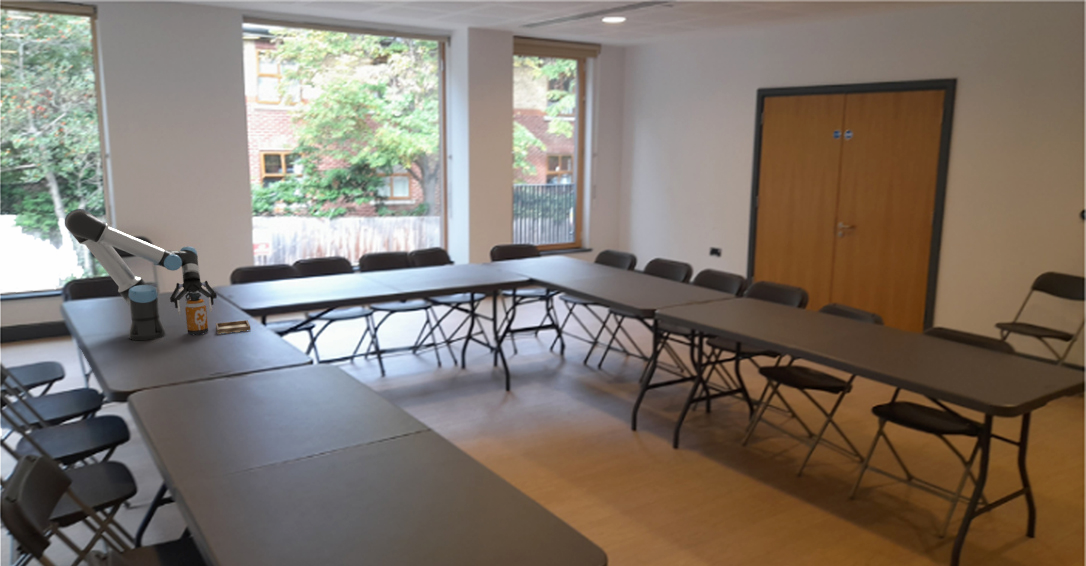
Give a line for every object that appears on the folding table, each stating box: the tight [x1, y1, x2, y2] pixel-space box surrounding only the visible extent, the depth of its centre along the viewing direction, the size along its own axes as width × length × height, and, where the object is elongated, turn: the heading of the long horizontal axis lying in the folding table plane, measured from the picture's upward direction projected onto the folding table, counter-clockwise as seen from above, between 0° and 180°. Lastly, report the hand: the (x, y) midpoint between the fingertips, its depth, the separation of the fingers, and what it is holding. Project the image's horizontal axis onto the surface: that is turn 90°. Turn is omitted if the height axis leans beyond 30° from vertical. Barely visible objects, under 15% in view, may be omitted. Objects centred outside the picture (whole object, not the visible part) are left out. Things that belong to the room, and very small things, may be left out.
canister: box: [184, 291, 209, 336], centre depth 361 cm, size 9×11×20 cm
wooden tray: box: [215, 319, 251, 335], centre depth 369 cm, size 15×14×2 cm
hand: (195, 311), depth 359 cm, fingers open, 13 cm apart
